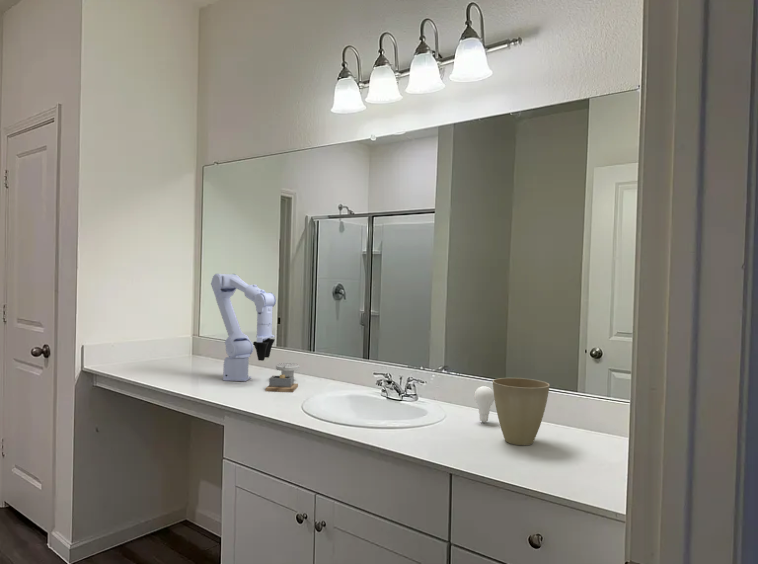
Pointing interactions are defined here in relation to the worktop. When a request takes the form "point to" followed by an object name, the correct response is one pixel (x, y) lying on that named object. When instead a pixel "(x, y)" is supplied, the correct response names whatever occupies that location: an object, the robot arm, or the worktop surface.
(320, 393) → the worktop surface
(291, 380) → the grey rectangular block
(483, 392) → the lightbulb
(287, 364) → the showerhead
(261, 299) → the robot arm
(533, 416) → the plant pot
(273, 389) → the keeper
